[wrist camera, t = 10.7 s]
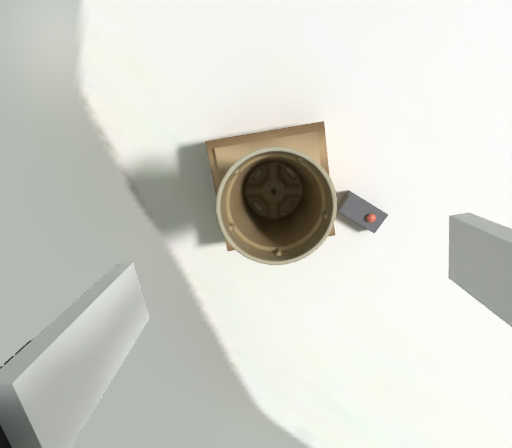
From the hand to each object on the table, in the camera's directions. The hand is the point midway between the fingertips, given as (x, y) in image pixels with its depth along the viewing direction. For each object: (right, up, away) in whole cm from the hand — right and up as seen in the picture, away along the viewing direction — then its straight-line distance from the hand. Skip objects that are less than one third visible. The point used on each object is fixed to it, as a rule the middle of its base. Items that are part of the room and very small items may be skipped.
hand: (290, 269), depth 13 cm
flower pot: (0, +5, +20) cm, 20 cm away
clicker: (+11, +4, +24) cm, 27 cm away
